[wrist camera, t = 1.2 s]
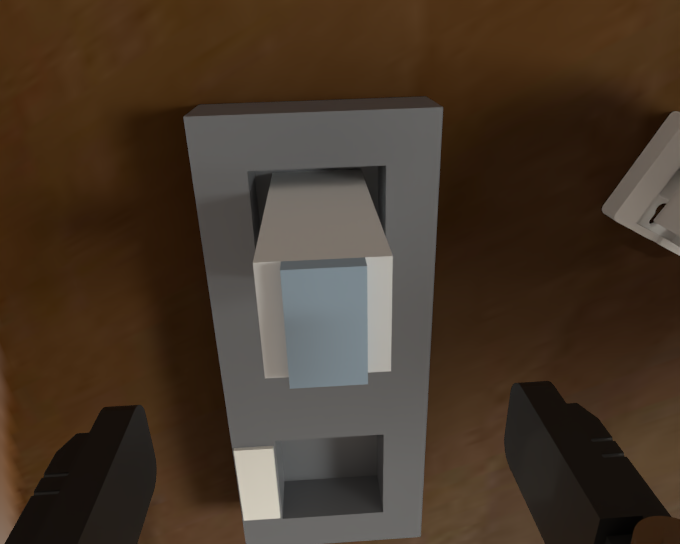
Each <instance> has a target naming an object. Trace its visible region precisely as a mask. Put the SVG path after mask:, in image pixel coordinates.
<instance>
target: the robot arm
mask: <svg viewBox="0 0 680 544" xmlns="http://www.w3.org/2000/svg"><path fill="white" fill-rule="evenodd" d="M504 445H505V453H506V458H507V461H508V464H509V467H510V469H511V471H512V473H513V476H514V478H515V480H516V482H517V484H518V486H519V488H520V491H521V493H522V495H523V497H524V499H525V501H526V503H527V506H528V508H529V510H530V512H531V514H532V516H533V519H534V521H535V523H536V525H537V527H538V529H539V531H540V534H541V536H542V538H543V540H544V542H545V544H680V519H677V518H672V517H671V516H670V514H669V513H668V512H667V510H666V509H665V508H664V506H663V505H662V504H661V502H660V501H659V500H658V498H657V497H656V495H655V494H654V493H653V491H652V490H651V489H650V487H649V486H648V485H647V483H646V482H645V481H644V479H643V478H642V477H641V475H640V474H639V473H638V471H637V470H636V469H635V467H634V466H633V465H632V463H631V462H630V461H629V459H628V458H627V457H624V453H623V451H622V450H621V448H620V447H619V446H618V444H617V443H616V442H615V441H613V440H612V436H611V435H610V434H609V432H608V431H607V430H606V428H605V427H604V426H603V424H602V423H601V422H600V420H599V419H598V418H597V417H595V416H594V415H593V414H591V413H590V412H588V411H587V410H586V409H584V408H583V407H582V406H580V405H579V404H577V403H571V404H566V402H565V401H564V399H563V398H562V397H561V395H560V394H559V392H558V391H557V389H556V388H555V386H554V385H553V384H552V383H551V382H549V381H541V382H525V383H514V384H513V386H512V388H511V393H510V400H509V407H508V415H507V422H506V429H505V437H504ZM155 482H156V458H155V454H154V449H153V445H152V440H151V436H150V432H149V427H148V423H147V418H146V414H145V411H144V408H143V407H142V406H141V405H131V406H115V407H104V408H103V409H102V410H101V411H100V413H99V415H98V417H97V419H96V421H95V423H94V425H93V427H92V429H91V431H90V433H79V434H76V435H75V436H74V437H72V438H71V439H70V440H69V441H68V442H67V443H66V444H65V445H64V446H63V447H62V448H61V449H59V450H58V451H57V452H56V454H55V455H54V457H53V459H52V461H51V462H50V464H49V466H48V468H47V470H46V471H45V473H44V478H41V480H40V482H39V484H38V485H37V487H36V489H35V491H34V496H31V498H30V500H29V501H28V503H27V505H26V507H25V508H24V510H23V512H22V514H21V515H20V517H19V519H18V521H17V523H16V524H15V526H14V528H13V530H12V531H11V533H10V535H9V537H8V538H7V540H6V542H5V544H137V543H138V539H139V536H140V533H141V530H142V527H143V523H144V520H145V517H146V514H147V511H148V507H149V504H150V501H151V498H152V495H153V491H154V488H155Z"/></svg>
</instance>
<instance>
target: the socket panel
mask: <svg viewBox="0 0 680 544" xmlns="http://www.w3.org/2000/svg"><path fill="white" fill-rule="evenodd" d="M183 119H184V125H185V132H186V139H187V146H188V153H189V159H190V166H191V173H192V180H193V187H194V193H195V200H196V207H197V214H198V221H199V227H200V234H201V241H202V248H203V254H204V261H205V268H206V275H207V282H208V288H209V295H210V302H211V309H212V316H213V322H214V329H215V336H216V343H217V350H218V356H219V363H220V370H221V377H222V384H223V390H224V397H225V404H226V411H227V417H228V424H229V431H230V438H231V445H232V451H233V458H234V465H235V472H236V479H237V485H238V492H239V499H240V506H241V513H242V519H243V526H244V533H245V540H246V544H325V543H339V542H354V541H368V540H382V539H397V538H411V537H421V520H422V501H423V482H424V463H425V444H426V425H427V406H428V386H429V367H430V348H431V329H432V310H433V291H434V272H435V253H436V234H437V215H438V196H439V177H440V158H441V139H442V120H443V107H442V106H440V105H439V104H437V103H436V102H434V101H432V100H431V99H429V98H428V97H426V96H424V97H396V98H369V99H341V100H313V101H286V102H258V103H230V104H203V105H198V106H196V107H195V108H194V109H193V110H191V111H190V112H189V113H187V114H186V115H185V116H184V117H183ZM354 169H361V172H362V174H363V177H364V180H365V182H366V185H367V188H368V190H369V193H370V196H371V199H372V201H373V204H374V207H375V209H376V212H377V215H378V217H379V220H380V223H381V226H382V228H383V231H384V234H385V236H386V239H387V242H388V245H389V247H390V250H391V253H392V255H393V274H392V337H391V371H387V372H370V373H368V384H364V385H346V386H329V387H312V388H294V389H290V385H289V377H282V378H265V374H264V365H263V355H262V346H261V337H260V327H259V318H258V308H257V299H256V289H255V280H254V270H253V259H254V255H255V250H256V246H257V241H258V237H259V232H260V228H261V223H262V218H263V214H264V209H265V205H266V200H267V196H268V191H269V187H270V182H271V178H272V173H281V172H305V171H330V170H354Z"/></svg>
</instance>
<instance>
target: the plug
mask: <svg viewBox="0 0 680 544" xmlns="http://www.w3.org/2000/svg"><path fill="white" fill-rule="evenodd" d="M253 270H254V280H255V289H256V299H257V308H258V318H259V327H260V337H261V346H262V355H263V365H264V374H265V378H282V377H289V385H290V389H294V388H312V387H329V386H346V385H364V384H368V373H370V372H387V371H391V337H392V274H393V255H392V253H391V250H390V247H389V245H388V242H387V239H386V236H385V234H384V231H383V228H382V226H381V223H380V220H379V217H378V215H377V212H376V209H375V207H374V204H373V201H372V199H371V196H370V193H369V190H368V188H367V185H366V182H365V180H364V177H363V174H362V172H361V169H354V170H330V171H305V172H281V173H272V178H271V182H270V187H269V191H268V196H267V200H266V205H265V209H264V214H263V218H262V223H261V228H260V232H259V237H258V241H257V246H256V250H255V255H254V259H253Z"/></svg>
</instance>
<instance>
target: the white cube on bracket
mask: <svg viewBox="0 0 680 544" xmlns="http://www.w3.org/2000/svg"><path fill="white" fill-rule="evenodd" d="M663 203H666V205H665V206H664V208H663V209H662V210H661V211H660V212H659V214H658V215H657V216H656V218H655V219H654V222H653V223H652V224H650V223H649V221H650V220H651V218H652V217H653V216H654V214H655V211H656V208H657V207H658V206H659V205H661V204H663ZM602 212H603V213H604V214H605V215H607V216H608V217H610V218H612V219H613V220H615V221H616V222H618V223H620V224H622V225H623V226H625V227H627V228H629V229H631V230H633V231H635V232H636V233H638V234H640V235H642V236H644V237H646V238H648V239H649V240H652V241H654V242H656V243H657V244H659V245H661V246H662V247H664V248H666V249H668V250H670V251H672V252H674V253H675V254H677V255H679V256H680V112H677V111H674V112H672V113H671V114H670V115H669V116H668V117H667V119H666V120H665V121H664V123H663V124H662V125H661V127H660V128H659V130H658V131H657V132H656V134H655V135H654V136H653V138H652V139H651V141H650V142H649V143H648V145H647V146H646V147H645V149H644V150H643V152H642V153H641V154H640V156H639V157H638V158H637V160H636V161H635V162H634V164H633V165H632V167H631V168H630V169H629V171H628V172H627V173H626V175H625V176H624V178H623V179H622V180H621V182H620V183H619V184H618V186H617V187H616V188H615V190H614V191H613V193H612V194H611V195H610V197H609V198H608V199H607V201H606V202H605V204H604V205H603V206H602Z"/></svg>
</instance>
